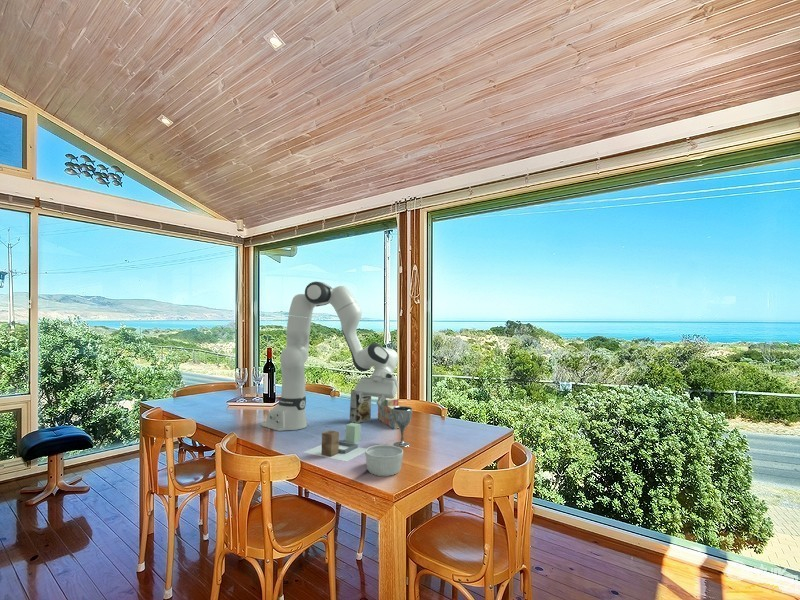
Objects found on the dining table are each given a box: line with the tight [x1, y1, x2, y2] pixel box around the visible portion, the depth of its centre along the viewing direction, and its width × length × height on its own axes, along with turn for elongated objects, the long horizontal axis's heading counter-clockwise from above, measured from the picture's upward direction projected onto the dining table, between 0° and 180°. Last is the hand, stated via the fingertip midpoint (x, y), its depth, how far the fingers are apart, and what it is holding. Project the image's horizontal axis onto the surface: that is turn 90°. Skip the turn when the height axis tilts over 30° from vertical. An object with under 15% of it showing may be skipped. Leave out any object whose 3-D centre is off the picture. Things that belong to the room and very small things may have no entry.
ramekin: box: [364, 444, 404, 477], centre depth 140 cm, size 13×13×7 cm
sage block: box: [344, 422, 362, 444], centre depth 170 cm, size 4×4×8 cm
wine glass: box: [393, 405, 413, 448], centre depth 171 cm, size 8×8×15 cm
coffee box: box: [349, 389, 372, 424], centre depth 209 cm, size 9×6×16 cm
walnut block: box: [321, 429, 340, 457], centre depth 153 cm, size 4×4×8 cm
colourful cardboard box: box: [377, 397, 400, 430], centre depth 206 cm, size 21×6×12 cm, turn 25°
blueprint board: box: [302, 440, 367, 462], centre depth 156 cm, size 20×16×2 cm
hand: (369, 403), depth 182 cm, fingers open, 8 cm apart
